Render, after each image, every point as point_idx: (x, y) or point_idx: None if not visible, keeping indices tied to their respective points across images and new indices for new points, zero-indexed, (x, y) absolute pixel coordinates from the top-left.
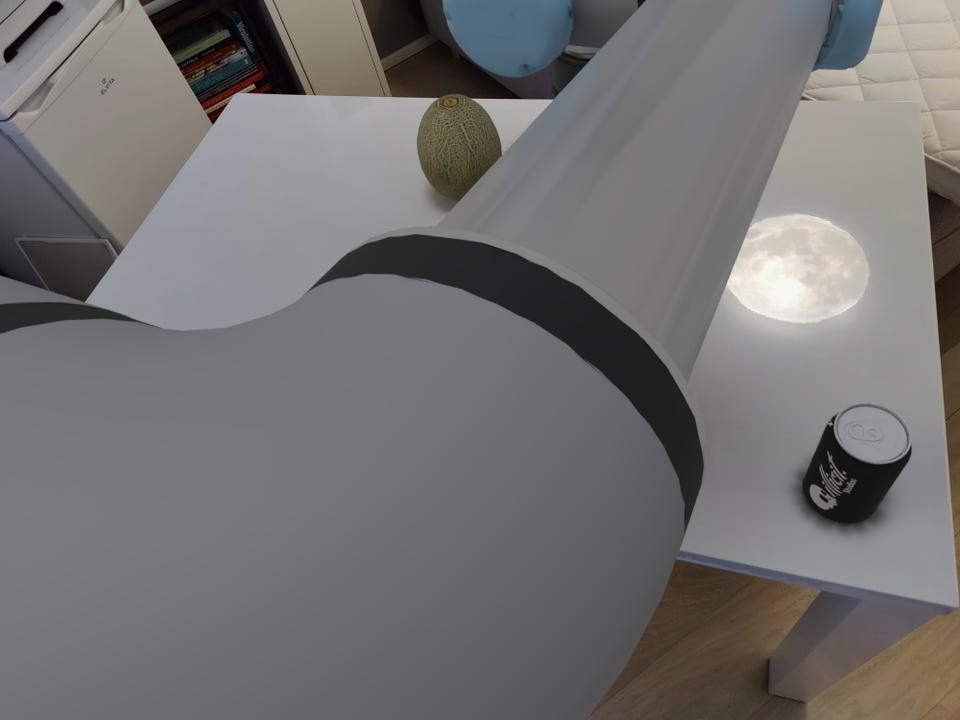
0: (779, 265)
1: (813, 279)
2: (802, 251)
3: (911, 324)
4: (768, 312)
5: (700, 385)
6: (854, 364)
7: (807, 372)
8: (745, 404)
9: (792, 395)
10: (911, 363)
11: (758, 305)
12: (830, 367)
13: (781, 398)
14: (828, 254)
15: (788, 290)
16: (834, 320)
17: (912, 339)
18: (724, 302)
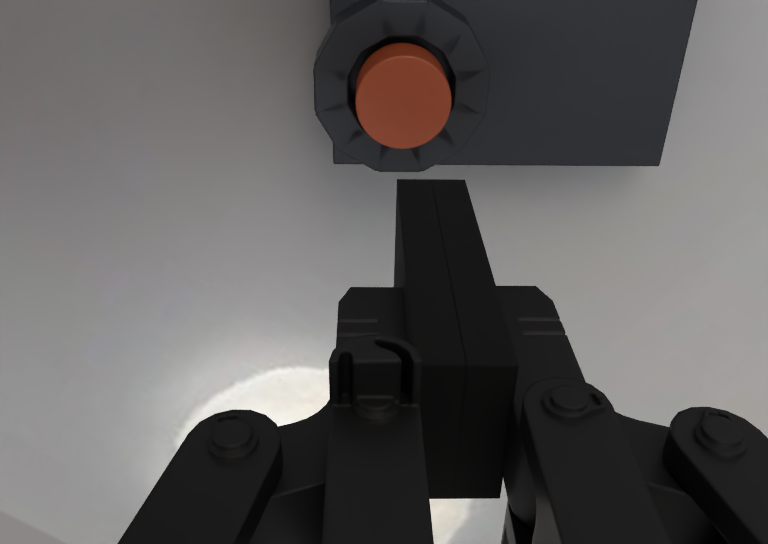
0: None
1: None
2: None
3: (96, 537)
4: (246, 391)
5: (125, 166)
6: (50, 430)
7: (65, 360)
8: (32, 217)
9: (20, 306)
10: (15, 493)
11: (274, 388)
12: (60, 397)
13: (20, 285)
14: None
15: None
16: (164, 462)
17: (64, 521)
18: (321, 343)
